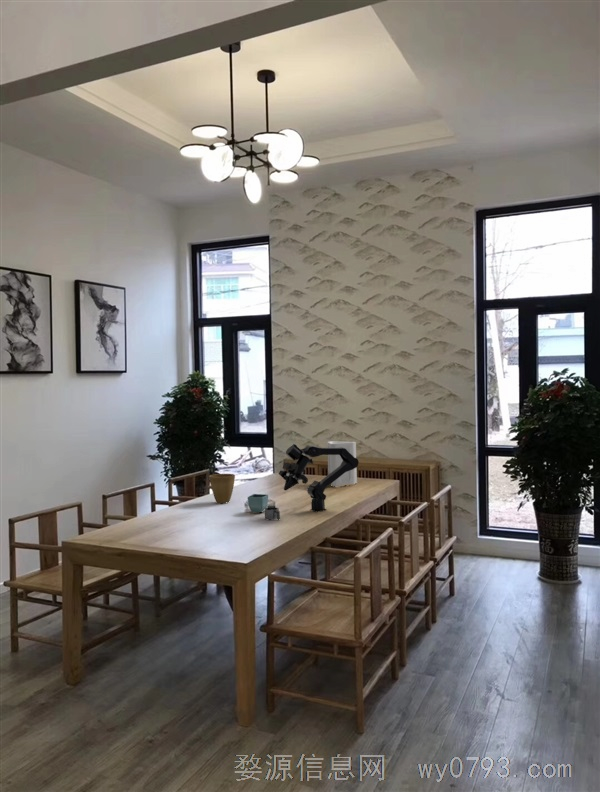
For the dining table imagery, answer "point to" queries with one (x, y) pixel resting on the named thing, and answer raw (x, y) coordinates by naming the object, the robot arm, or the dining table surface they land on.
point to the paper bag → (336, 461)
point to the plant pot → (222, 486)
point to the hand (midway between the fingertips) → (284, 490)
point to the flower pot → (257, 502)
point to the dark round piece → (271, 507)
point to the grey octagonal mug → (272, 513)
